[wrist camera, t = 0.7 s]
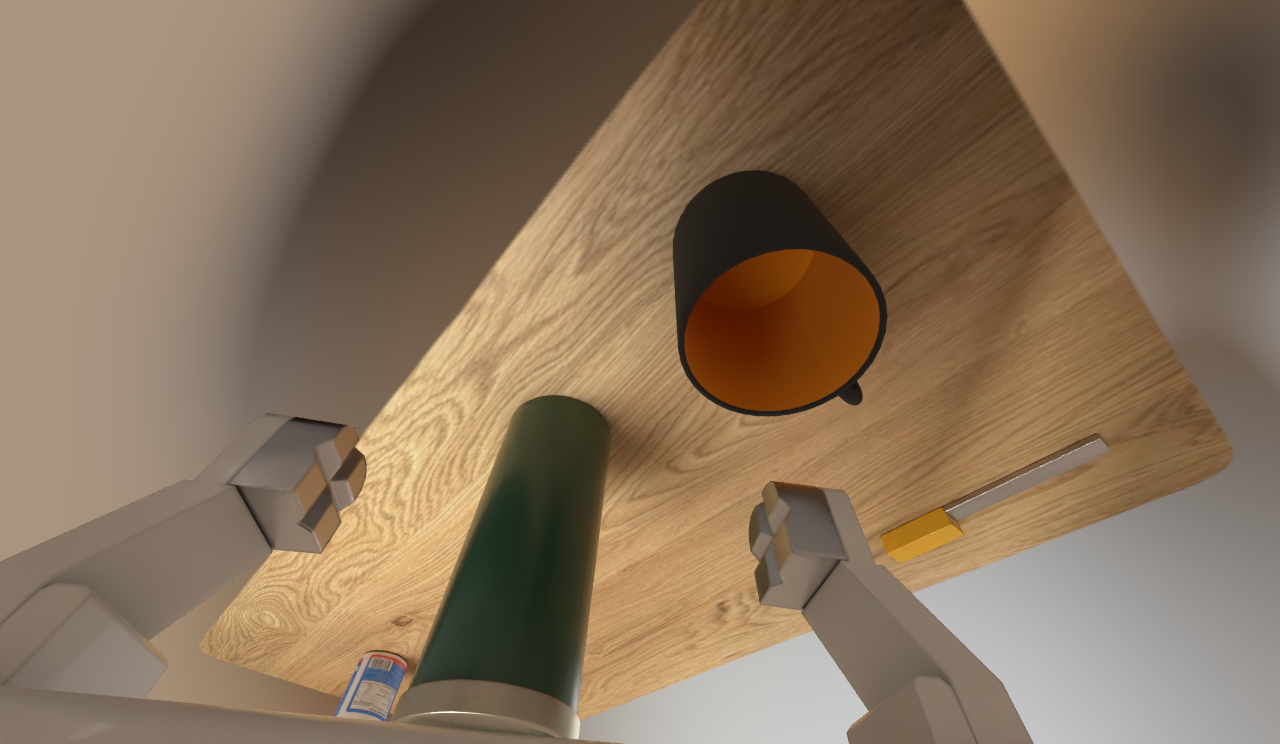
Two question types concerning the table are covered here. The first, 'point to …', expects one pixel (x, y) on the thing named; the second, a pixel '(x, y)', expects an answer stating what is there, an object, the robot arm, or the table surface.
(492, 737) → the robot arm
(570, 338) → the table surface
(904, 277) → the table surface
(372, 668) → the pill bottle
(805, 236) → the mug
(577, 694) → the canister
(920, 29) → the table surface
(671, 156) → the table surface
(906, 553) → the knife
